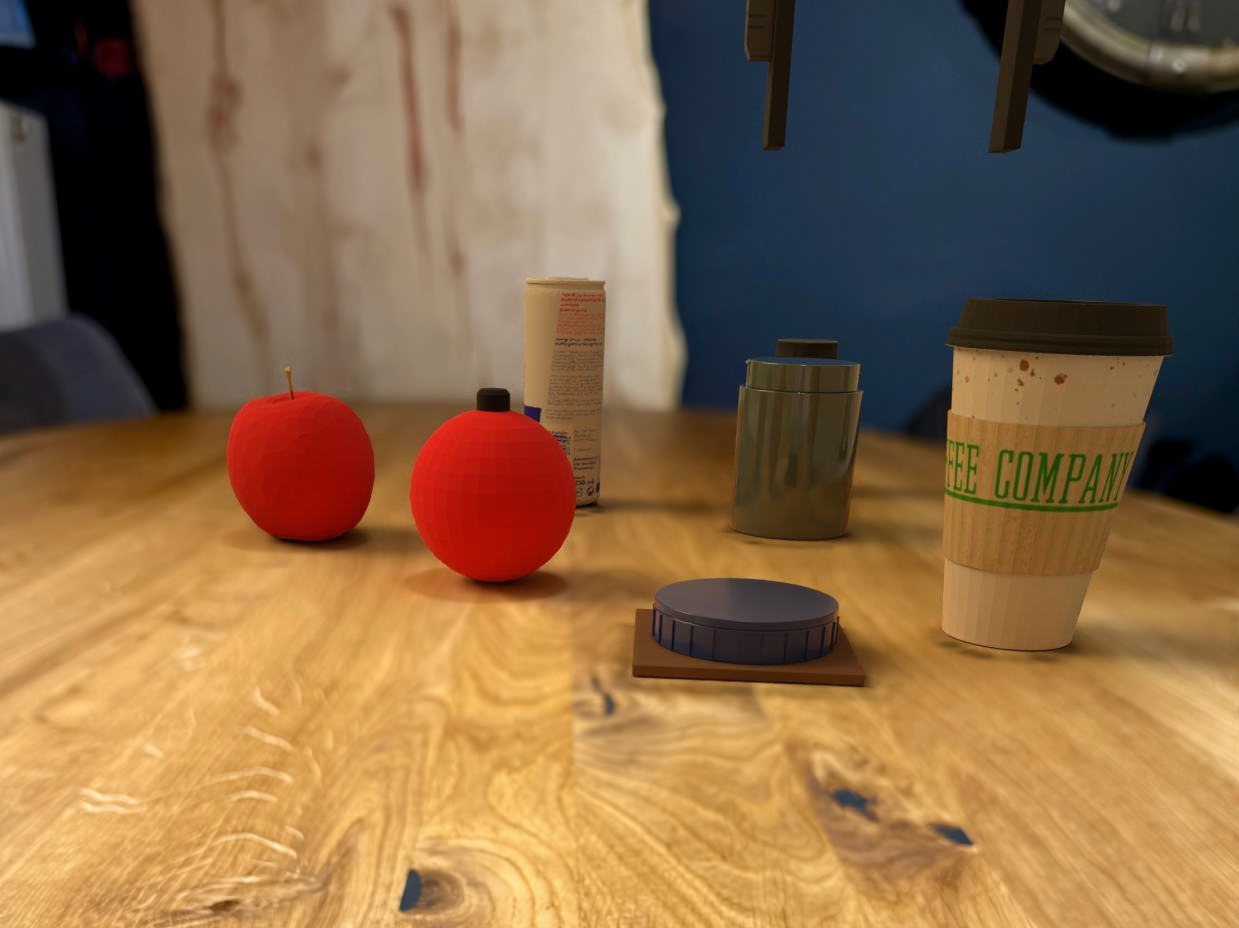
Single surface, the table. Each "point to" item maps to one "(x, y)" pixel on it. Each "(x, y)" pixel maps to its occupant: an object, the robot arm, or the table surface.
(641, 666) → the coaster
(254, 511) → the fruit
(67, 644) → the table surface
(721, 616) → the lid
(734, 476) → the jar
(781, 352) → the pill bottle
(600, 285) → the beverage can
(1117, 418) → the coffee cup
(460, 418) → the ornament
